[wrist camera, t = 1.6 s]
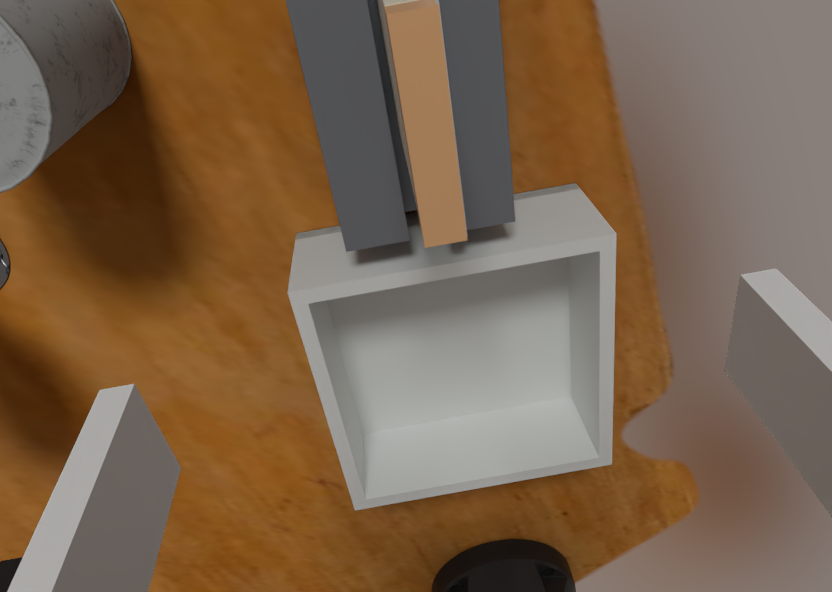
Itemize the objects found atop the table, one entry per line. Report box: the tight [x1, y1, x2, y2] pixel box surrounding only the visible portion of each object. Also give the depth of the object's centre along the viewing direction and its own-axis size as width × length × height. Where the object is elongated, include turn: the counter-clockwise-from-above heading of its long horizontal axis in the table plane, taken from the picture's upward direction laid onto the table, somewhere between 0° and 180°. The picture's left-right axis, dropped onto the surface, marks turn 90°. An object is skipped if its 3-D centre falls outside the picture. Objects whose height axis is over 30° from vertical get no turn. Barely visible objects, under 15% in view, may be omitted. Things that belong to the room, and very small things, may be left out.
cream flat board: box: [376, 0, 467, 248], centre depth 28 cm, size 8×2×16 cm, turn 9°
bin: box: [288, 183, 616, 510], centre depth 47 cm, size 20×20×8 cm
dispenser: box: [286, 0, 515, 252], centre depth 35 cm, size 20×10×9 cm, turn 9°
